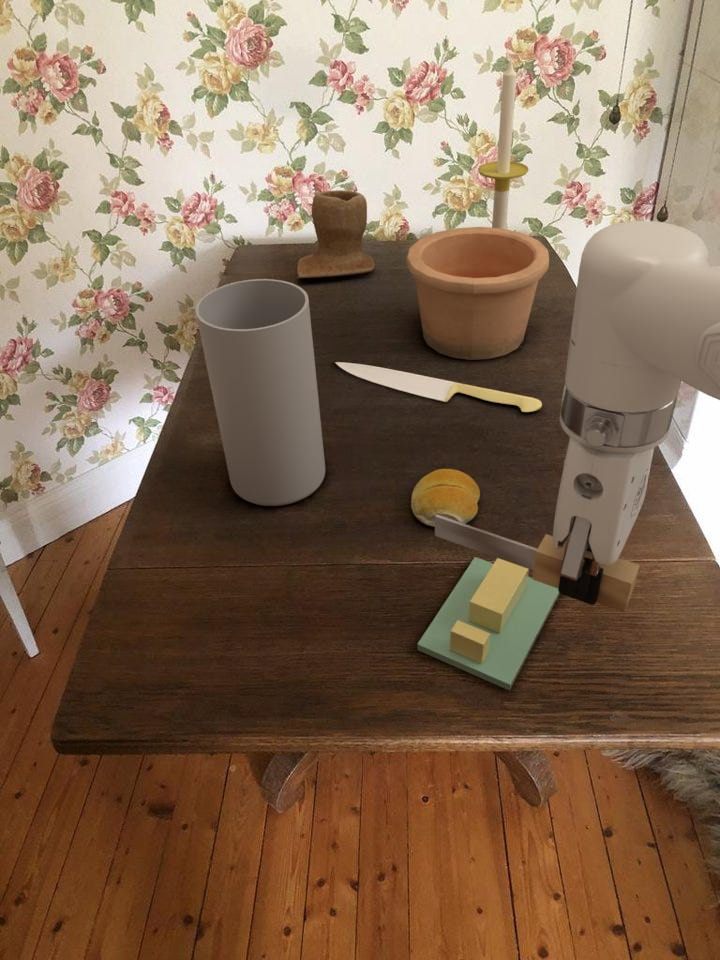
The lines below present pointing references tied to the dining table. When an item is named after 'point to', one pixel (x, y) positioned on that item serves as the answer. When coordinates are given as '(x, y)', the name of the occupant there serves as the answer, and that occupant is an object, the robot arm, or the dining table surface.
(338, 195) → the stone cup
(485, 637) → the butter slice
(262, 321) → the cylinder vase
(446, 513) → the bread roll
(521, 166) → the candle
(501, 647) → the butter dish
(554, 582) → the wooden handled knife
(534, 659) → the dining table surface
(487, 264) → the pottery
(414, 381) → the knife
